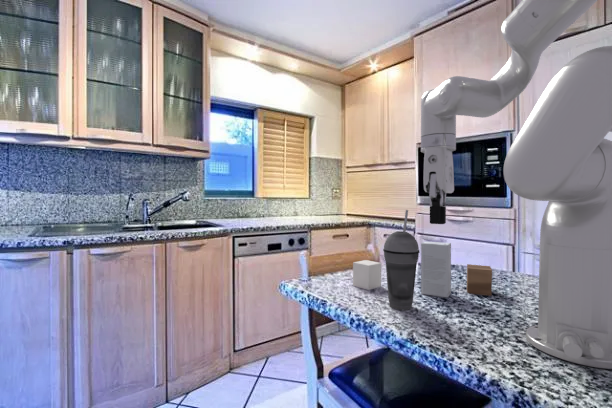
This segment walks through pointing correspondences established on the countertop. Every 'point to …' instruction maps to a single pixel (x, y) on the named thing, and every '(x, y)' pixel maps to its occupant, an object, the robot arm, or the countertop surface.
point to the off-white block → (367, 274)
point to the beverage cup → (401, 267)
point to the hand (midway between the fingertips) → (437, 223)
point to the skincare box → (436, 269)
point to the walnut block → (479, 279)
